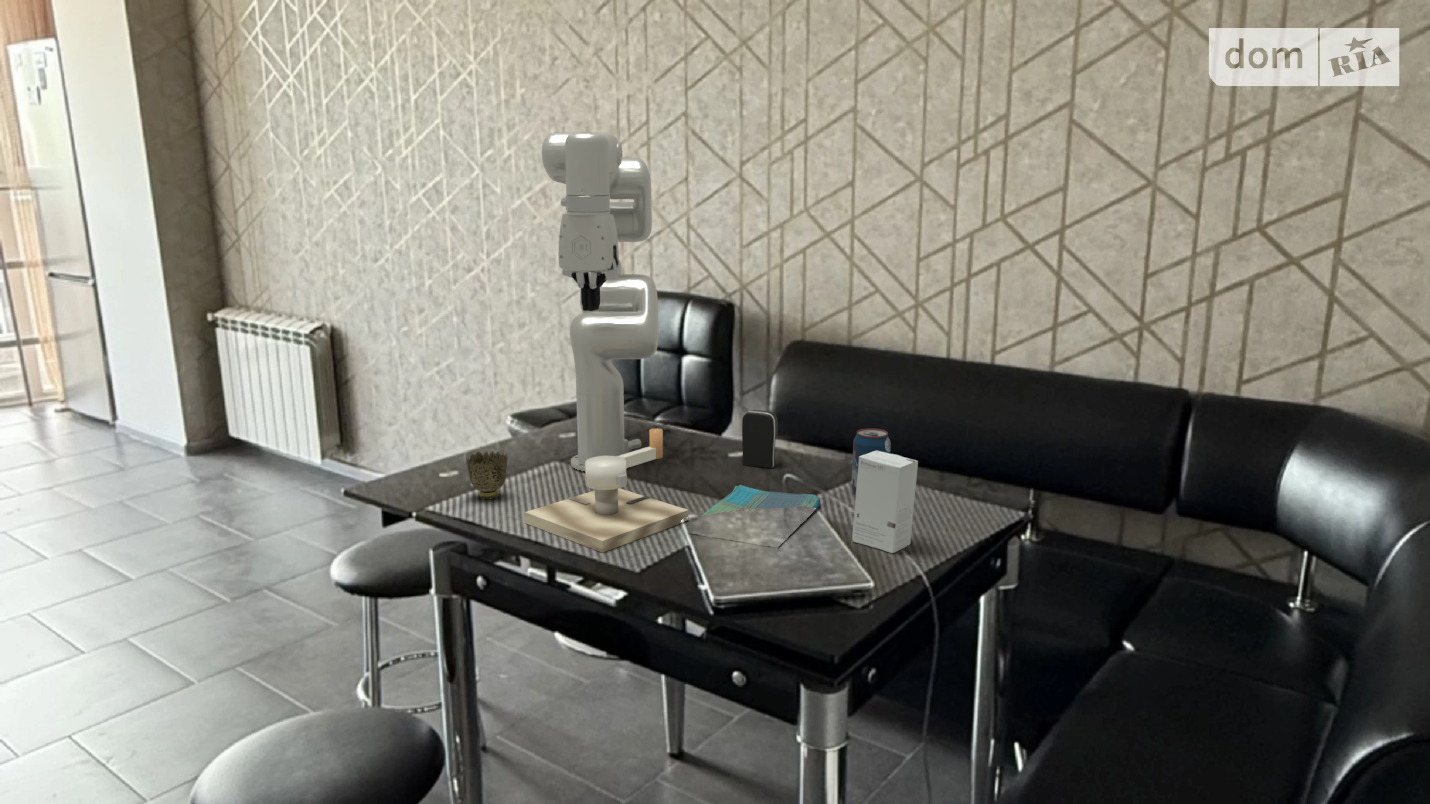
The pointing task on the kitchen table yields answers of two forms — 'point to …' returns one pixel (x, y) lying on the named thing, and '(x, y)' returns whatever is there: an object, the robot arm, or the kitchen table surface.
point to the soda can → (868, 447)
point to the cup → (487, 473)
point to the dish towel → (762, 500)
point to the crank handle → (621, 464)
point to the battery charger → (759, 438)
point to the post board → (606, 518)
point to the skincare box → (884, 501)
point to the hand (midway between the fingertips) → (591, 309)
